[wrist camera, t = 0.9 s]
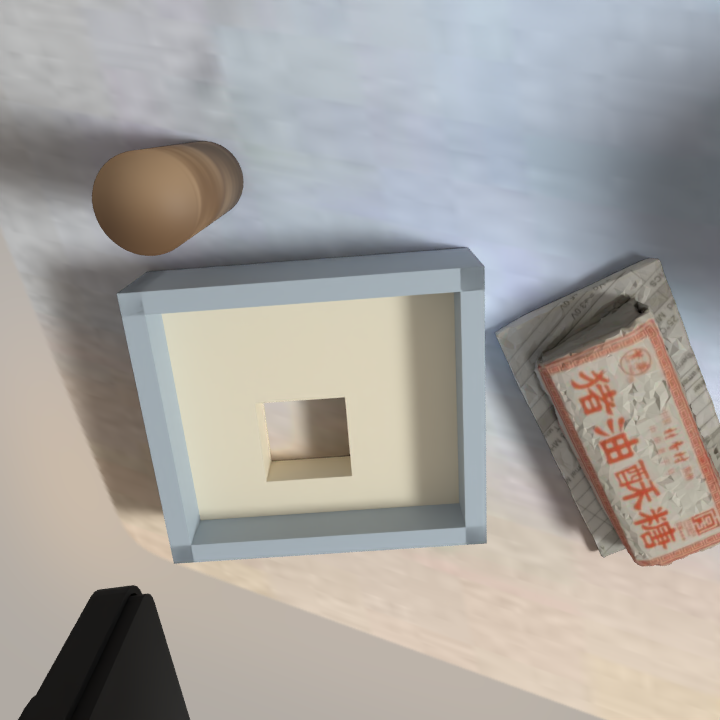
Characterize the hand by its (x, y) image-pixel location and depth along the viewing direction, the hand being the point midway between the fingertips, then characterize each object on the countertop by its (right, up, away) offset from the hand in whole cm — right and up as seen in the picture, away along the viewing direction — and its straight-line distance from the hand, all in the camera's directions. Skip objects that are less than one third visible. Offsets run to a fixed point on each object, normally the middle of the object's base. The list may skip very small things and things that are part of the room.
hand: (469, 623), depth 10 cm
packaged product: (+15, +1, +31) cm, 35 cm away
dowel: (-10, +14, +26) cm, 31 cm away
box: (-4, +2, +30) cm, 30 cm away
